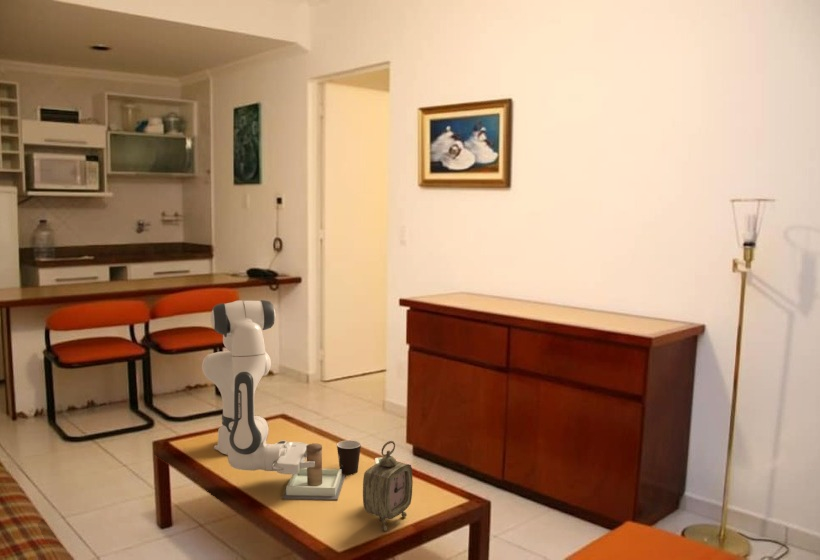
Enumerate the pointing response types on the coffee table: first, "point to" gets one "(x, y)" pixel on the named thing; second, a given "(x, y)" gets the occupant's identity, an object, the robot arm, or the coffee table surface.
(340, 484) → the mat
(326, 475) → the dish
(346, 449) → the coffee mug
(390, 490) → the tabletop clock
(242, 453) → the robot arm
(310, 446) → the canister
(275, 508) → the coffee table surface
